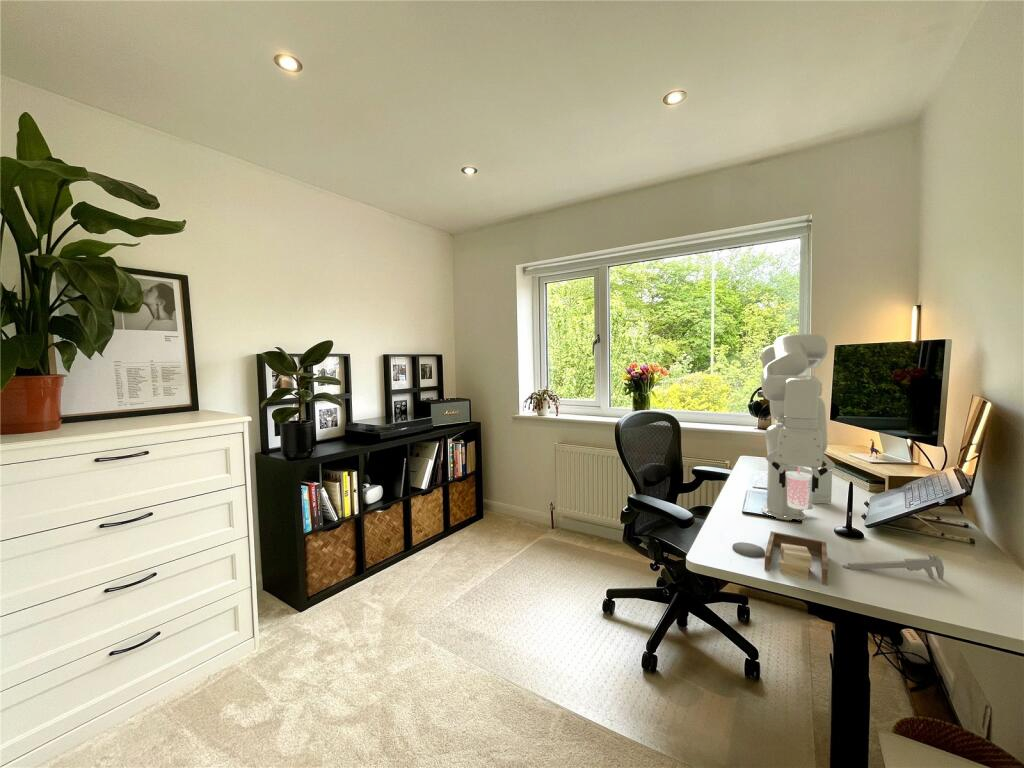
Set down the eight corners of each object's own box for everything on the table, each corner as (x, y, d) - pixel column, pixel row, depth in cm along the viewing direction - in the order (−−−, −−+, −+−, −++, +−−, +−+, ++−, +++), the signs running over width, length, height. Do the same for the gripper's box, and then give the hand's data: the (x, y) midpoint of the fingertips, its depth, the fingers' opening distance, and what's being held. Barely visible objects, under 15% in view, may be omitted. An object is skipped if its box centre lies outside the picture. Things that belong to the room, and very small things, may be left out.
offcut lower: (782, 564, 112) (782, 553, 111) (809, 571, 108) (810, 559, 108) (779, 573, 107) (779, 561, 107) (808, 580, 103) (808, 568, 103)
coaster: (752, 543, 123) (752, 541, 123) (771, 556, 115) (771, 554, 115) (726, 544, 123) (726, 542, 123) (743, 557, 115) (743, 555, 115)
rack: (770, 544, 123) (770, 531, 122) (825, 556, 115) (826, 542, 115) (764, 569, 108) (764, 554, 108) (827, 585, 100) (827, 569, 100)
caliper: (940, 578, 103) (941, 554, 103) (943, 580, 102) (944, 555, 102) (842, 567, 110) (843, 543, 109) (844, 569, 108) (844, 545, 108)
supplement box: (832, 504, 156) (833, 470, 155) (812, 504, 156) (813, 470, 155) (817, 497, 163) (818, 465, 162) (798, 497, 163) (799, 465, 162)
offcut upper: (780, 554, 111) (780, 543, 111) (806, 558, 108) (806, 546, 108) (784, 563, 106) (784, 552, 106) (811, 567, 103) (811, 556, 103)
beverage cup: (799, 511, 111) (801, 459, 110) (778, 503, 117) (780, 454, 116) (817, 509, 112) (818, 457, 111) (796, 501, 118) (797, 452, 117)
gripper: (761, 423, 115) (760, 486, 116) (841, 428, 105) (838, 498, 106) (764, 419, 121) (762, 479, 122) (840, 424, 111) (837, 490, 112)
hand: (798, 487), depth 114 cm, fingers closed on beverage cup, 6 cm apart
